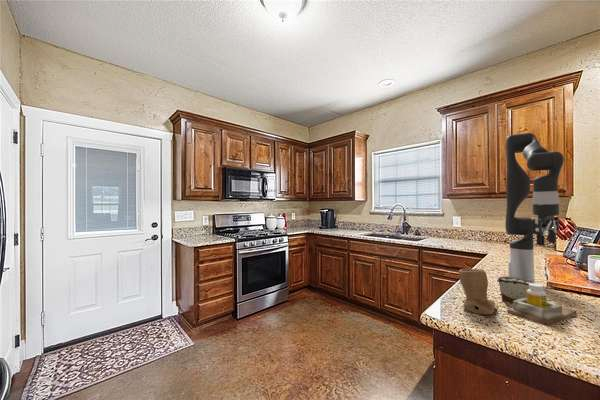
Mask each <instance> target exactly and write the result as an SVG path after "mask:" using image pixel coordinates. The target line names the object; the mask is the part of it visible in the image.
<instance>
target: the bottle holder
mask: <svg viewBox="0 0 600 400" xmlns="http://www.w3.org/2000/svg"><path fill="white" fill-rule="evenodd" d="M506 312H507V313H508V314H512V315H515V316H517V317H520V318H522V319H527V320H530V321H533V322H536V323H539V324H542V325H546V326H548V327H550V326H553V325H554V324H557V323H559V322H562V321H564V320H567V319H568V318H571V317H573V316H576V315H577V313H578V311H577V310H575V309H571V308H567V307H564V306H563V305H561V304H557V303H554V302H551V301H550V302H549V301H547V308H541V307H537V306H534V305H530V304H527V297H524V298H521V299H518V300H515V301H513V303H512V307H510V308H507V310H506Z"/></svg>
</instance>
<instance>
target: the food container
mask: <svg viewBox="0 0 600 400" xmlns="http://www.w3.org/2000/svg"><path fill="white" fill-rule="evenodd" d="M496 282H497V283H498V284H499V290H500V297H501V301H502V302H505V303H511V304H513V301H515V300H518V299H521V298H524V297H527V290H528V289H530V288H529V284H530V283H535V284H536V282H534V281H532V280H529V279H525V278H519V277H510V276H509V275H508V276H499V277H498V278H497V281H496Z"/></svg>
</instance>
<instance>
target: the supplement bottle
mask: <svg viewBox="0 0 600 400" xmlns="http://www.w3.org/2000/svg"><path fill="white" fill-rule="evenodd" d="M529 288H530V289H528V290H527V304H530V305H534V306H537V307H541V308H547V302H548V299H547V298H548V297H547V296H548V295H547V292H546V291H544V290H545V287H544V285H543V284H540V283H536V282H535V283H530V284H529Z"/></svg>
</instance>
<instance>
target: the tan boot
mask: <svg viewBox="0 0 600 400" xmlns="http://www.w3.org/2000/svg"><path fill="white" fill-rule="evenodd" d="M458 277H459V282H460V283H461V286H462V289H463V291H464V294H465V299H464V300H463V304H462V307H463V308H464V309H466V310H468V311H470V312H472V313H475V314H478V315H492V314H493V313H494V312H495V309H496V302H495V301H494V300H491V299H488V296H487V295H488V294H487V293H488V286H489V282H488V281H489V280H488V276H487V272H486V271H485V270H484V269H482V268H462V269H459V270H458Z"/></svg>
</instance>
